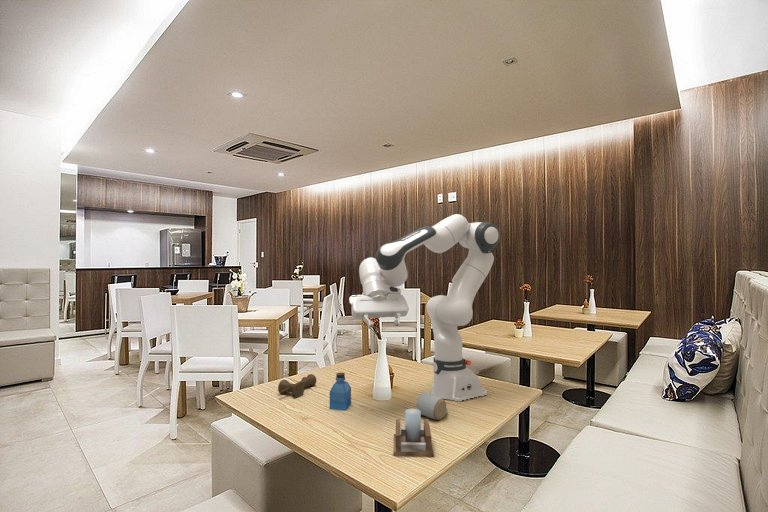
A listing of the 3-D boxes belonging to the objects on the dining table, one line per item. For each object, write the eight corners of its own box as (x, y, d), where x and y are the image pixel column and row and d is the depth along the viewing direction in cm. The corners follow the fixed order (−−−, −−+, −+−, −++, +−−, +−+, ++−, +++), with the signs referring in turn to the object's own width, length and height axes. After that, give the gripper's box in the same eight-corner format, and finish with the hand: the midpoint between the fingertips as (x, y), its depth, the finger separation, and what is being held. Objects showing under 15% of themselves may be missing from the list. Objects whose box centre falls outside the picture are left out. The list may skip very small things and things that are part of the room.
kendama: (321, 388, 162) (289, 402, 144) (303, 385, 166) (270, 398, 148) (321, 373, 162) (289, 386, 144) (303, 371, 166) (270, 383, 149)
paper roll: (417, 438, 112) (417, 407, 112) (423, 445, 108) (423, 413, 108) (403, 440, 111) (403, 409, 111) (408, 447, 107) (408, 414, 107)
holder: (430, 437, 115) (430, 419, 115) (433, 456, 104) (433, 436, 104) (393, 437, 115) (393, 418, 115) (393, 455, 104) (393, 435, 104)
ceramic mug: (435, 423, 125) (435, 400, 125) (415, 416, 130) (415, 394, 130) (453, 415, 132) (453, 392, 132) (434, 408, 138) (434, 387, 138)
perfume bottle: (346, 410, 136) (346, 376, 136) (329, 409, 137) (329, 375, 137) (351, 404, 142) (350, 371, 142) (335, 402, 143) (335, 370, 143)
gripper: (349, 289, 133) (355, 321, 123) (404, 288, 139) (414, 318, 130) (346, 301, 137) (352, 333, 128) (400, 299, 143) (409, 329, 134)
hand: (384, 326), depth 129 cm, fingers open, 8 cm apart
